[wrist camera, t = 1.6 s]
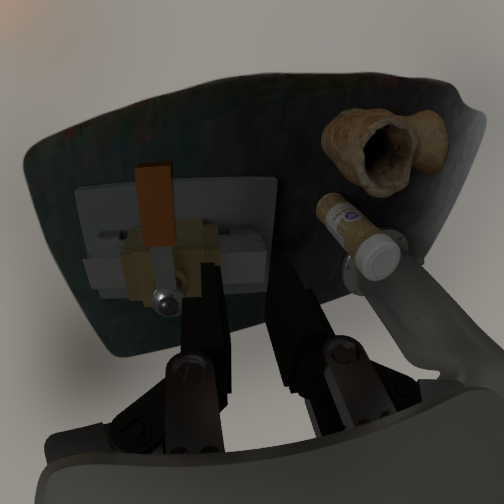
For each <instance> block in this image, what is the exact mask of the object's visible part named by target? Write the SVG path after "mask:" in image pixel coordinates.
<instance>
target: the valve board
mask: <svg viewBox="0 0 504 504" xmlns="http://www.w3.org/2000/svg"><path fill="white" fill-rule="evenodd" d="M277 182H278V180H277V179H276V178H275V177H202V178H178V179H173V187H174V204H175V219H198V218H203V224H217V228H218V235H228V225H249V224H254V227H255V229H256V233H255V234H260V236H261V238H262V241H263V243H264V245H265V248H266V250H267V256H266V267H265V278H264V282H257V283H240V284H223V289H224V294H239V293H255V292H267V285H268V275H269V266H270V258H271V248H272V237H273V227H274V216H275V205H276V194H277ZM74 192H75V198H76V204H77V209H78V214H79V219H80V224H81V228H82V233H83V237H84V241H85V245H86V249H87V251H88V249H89V248H90V246H91V244H92V243H93V241H97V239H96V237H97V235H98V234H99V232H101V231H116V230H122V234H123V240H125V239H126V238H127V236H128V233H129V231H130V229H131V228H133V227H141V223H140V216H139V208H138V199H137V189H136V181H133V182H121V183H111V184H101V185H92V186H84V187H78V188H77V189H76V190H75V191H74ZM98 291H99V294H100V297H101V298H130V297H129V293H128V290H127V288H114V289H98Z"/></svg>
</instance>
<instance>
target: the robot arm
mask: <svg viewBox="0 0 504 504" xmlns="http://www.w3.org/2000/svg"><path fill="white" fill-rule="evenodd" d="M378 229H379V230H380V231H381V232H382V233H384V234H385V235H388V236H389V237H390V238H391V239H392V240H393V241H394V242H395V243H396V244H397V245H398V246H399V248H400V252H401V257H400V261H399V264H398V266H397V267H396V269H395V270H394V271H393V272H392V273H391V274H390V275H389V276H388V277H386V278H384V279H382V280H379V281H371V280H368V279H367V278H366V277H365V276H364V275H363V274H362V273H361V272H360V270H359V269H358V268H357V266H356V263H355V261H354V260H353V259H352V257H351V256H350V255H349V253H347V254H346V256H345V258H344V261H343V264H342V270H341V275H342V280H343V283H344V285H345V286H346V288H347V289H348V290H349V291H350V292H351V293H353V294H355V295H359V296H365V298H366V299H367V300H368V302H369V304H370V305H371V306H372V308H373V309H374V311H375V312H376V314H377V315H378V317H379V318H380V319H381V321H382V323H383V324H384V325H385V327H386V329H387V330H388V332H389V333H390V335H391V336H392V338H393V339H394V341H395V342H396V344H397V346H398V347H399V349H400V350H401V352H402V353H403V355H404V357H405V358H406V359H407V360H408V361H409V362H410V363H411V364H412V365H414V366H416V367H418V368H422V369H427V370H436V371H439V372H440V376H439V377H438V378H437V379H436V380H432V379H418V381H417V382H416V381H415V380H413V378H410V377H409V376H407V375H404V374H402V373H400V372H397V371H395V370H392V369H390V368H388V367H385V366H383V365H380V364H378V363H376V362H374V361H371V360H370V359H369V357H368V355H367V354H366V352H365V350H364V348H363V346H362V345H361V344H360V343H359V342H358V341H357V340H355V339H354V338H351V337H349V336H345V335H335V334H334V331H333V330H332V328H331V326H330V324H329V322H328V320H327V318H326V316H325V314H324V312H323V310H322V308H321V306H320V304H319V302H318V300H317V298H316V296H315V294H314V293H313V291H312V290H310V289H307V290H305V288H304V286H303V284H302V282H301V280H300V278H299V276H298V274H297V272H296V270H295V268H294V266H293V264H292V262H291V260H290V259H275V261H274V263H270V266H269V275H268V285H267V295H266V304H265V322H266V326H267V329H268V332H269V336H270V340H271V343H272V347H273V350H274V353H275V357H276V361H277V364H278V367H279V370H280V374H281V378H282V381H283V384H284V386H285V387H287V386H289V389H290V392H291V394H292V393H298V394H299V396H301V397H303V398H304V399H305V404H306V407H307V410H308V413H309V416H310V420H311V422H312V426H313V429H314V432H315V435H316V438H313V439H309V440H305V441H300V442H295V443H291V444H285V445H279V446H273V447H267V448H260V449H252V450H244V451H235V452H225V449H224V443H223V435H222V429H221V420H220V412H221V411H222V410H223V409H224V408H225V407H226V406H227V405H228V401H227V394H229V393H232V389H231V338H230V331H229V324H228V317H227V310H226V303H225V296H224V289H223V282H222V274H221V267H220V266H215V262H207V263H201V295H202V297H184V298H182V312H181V352H180V353H178V354H176V355H174V356H173V357H172V358H171V359H170V360H169V362H168V363H167V366H166V373H165V378H164V379H163V380H161V381H160V382H159V383H158V384H156V385H155V386H154V387H153V388H151V389H150V390H149V391H148V392H146V393H145V394H144V395H143V396H141V397H140V398H139V399H138V400H136V401H135V402H134V403H132V404H131V405H130V406H129V407H127V408H126V409H125V410H124V411H122V412H121V413H120V414H118V415H117V416H116V417H115V418H114V419H113V421H112V422H111V423H108V424H103V423H102V422H101V423H98V424H93V425H89V426H85V427H81V428H77V429H72V430H68V431H64V432H58V433H55V434H52V435H50V436H49V438H47V440H46V442H45V445H44V452H45V457H46V461H47V466H46V467H45V469H44V470H43V471H42V473H41V475H40V478H39V481H38V485H37V489H36V495H35V503H34V504H504V350H503V349H502V348H501V347H500V346H499V345H498V344H497V343H496V342H494V341H493V340H492V339H491V338H490V337H489V336H488V335H487V334H486V333H485V332H484V331H483V330H482V329H481V328H480V327H479V326H478V325H477V324H476V323H475V322H474V321H473V320H472V319H471V318H470V317H469V316H468V315H467V313H466V312H465V311H464V310H463V309H462V308H461V307H460V306H459V305H458V304H457V302H456V301H455V300H454V299H453V298H452V297H451V296H450V295H449V294H448V293H447V292H446V291H445V290H444V289H443V288H442V286H441V285H440V284H439V283H438V282H437V281H436V280H435V279H434V278H433V277H432V276H431V275H430V274H429V273H428V272H427V271H426V270H425V269H424V268H423V267H422V266H421V265H423V264H424V259H423V258H422V257H417V258H415V257H414V256H413V255H412V254H411V253H410V252H409V247H408V242H407V240H406V238H405V237H404V235H403V234H402V233H401V232H399V231H398V230H396V229H394V228H391V227H381V228H378Z"/></svg>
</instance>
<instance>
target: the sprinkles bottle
mask: <svg viewBox="0 0 504 504" xmlns="http://www.w3.org/2000/svg"><path fill="white" fill-rule="evenodd" d="M316 215H317V217H318V219H319V220H320V221H321V222H322V223H323V224H324V225H325V226H326V227H327V229H328V230H329V231H330V233H331V234H332V235H333V236H334V237H335V238H336V240H337V241H338V242H339V243H340V244H341V246H342V247H343V248H344V249H345V251H346V252H347V253H349V255H350V256H351V257H352V259H353V260H354V261H355V263H356V266H357V268H358V269H359V270H360V272H361V273H362V274H363V275H364V276H365V277H366V278H367V279H368V280H371V281H379V280H382V279H384V278H386V277H388V276H389V275H390V274H391V273H392V272H393V271H394V270H395V269H396V267H397V266H398V264H399V261H400V257H401V252H400V248H399V246H398V245H397V244H396V243H395V242H394V241H393V240H392V239H391V238H390V237H389V236H388V235H385V234H384V233H382V232H381V231H380V230H379V229H378V228H377V227H376V226H375V225H374V224H373V223H372V222H370V221H369V220H368V219H367V218H366V217H365V216H364V215H363V214H362V213H361V212H360V211H359V210H358V209H357V208H355V207H354V206H353V205H352V204H350V203H349V202H348V201H347V200H345V198H344V197H343V196H342V195H340V194H338V193H329V194H326V195H324V196H323V197H322V198H321V199H320V200H319V202H318V204H317V207H316Z"/></svg>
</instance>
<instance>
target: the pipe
mask: <svg viewBox="0 0 504 504" xmlns="http://www.w3.org/2000/svg"><path fill="white" fill-rule="evenodd" d="M321 147H322V149H323V151H324V153H325V154H326V155H327V156H328V157H329V158H330V159H331V160H332V161H333V162H334V164H335V165H336V166H337V168H338V170H339V171H340V172H341V174H342V175H343V176H344V177H345V178H346V179H347V180H348V181H350V182H352V183H354V184H356V185H359V186H361V187H363V188H364V190H365V191H366V193H367V194H369V195H370V196H372V197H377V198H384V197H388V196H391V195H392V194H394V193H395V192H398V191H401V190H403V189H404V188H405V187H407V186H408V183H409V177H410V171H411V166H412V167H413V168H415V169H416V170H418V171H419V172H421V173H423V174H425V175H428V176H431V175H434V174H436V173H438V172H439V171H440V170H441V168H442V167H443V165H444V163H445V160H446V158H447V154H448V150H449V134H448V131H447V129H446V127H445V125H444V122H443V121H442V119H441V117H440V116H439V115H438V114H437V113H435V112H433V111H431V110H424V111H421V112H418V113H416V114H414V115H411V116H408V117H407V116H396V115H394V114H393V113H392V112H390V111H388V110H386V109H381V108H376V109H370V110H365V109H360V108H350V109H346V110H344V111H342V112H341V113H340V114H339V115H337V116H336V117H335V118H334V119H333V120H332V121H331V122H330V124H328V125H327V126H326V127H325V128H324V130H323V133H322V136H321Z"/></svg>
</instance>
